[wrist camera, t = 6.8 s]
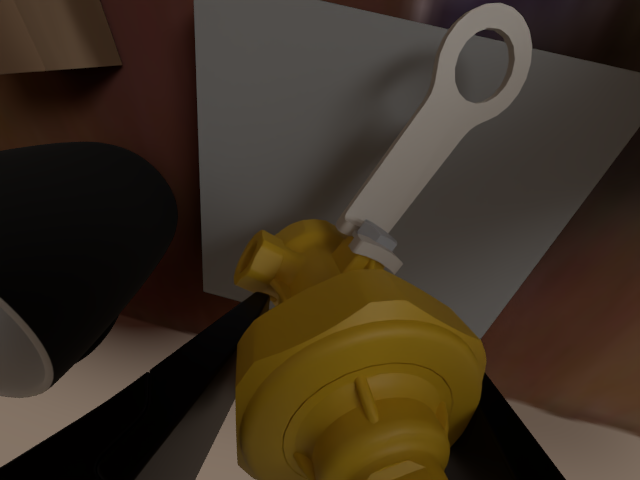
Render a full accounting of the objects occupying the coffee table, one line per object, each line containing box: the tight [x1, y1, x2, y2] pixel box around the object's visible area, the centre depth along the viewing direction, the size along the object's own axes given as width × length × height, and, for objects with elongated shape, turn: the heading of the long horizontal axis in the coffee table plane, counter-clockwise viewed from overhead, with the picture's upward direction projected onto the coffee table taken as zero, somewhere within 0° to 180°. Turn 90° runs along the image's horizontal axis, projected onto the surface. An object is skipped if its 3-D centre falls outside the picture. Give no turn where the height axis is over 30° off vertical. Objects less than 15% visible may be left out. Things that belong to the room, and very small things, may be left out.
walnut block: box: [0, 0, 122, 74], centre depth 12 cm, size 4×4×4 cm
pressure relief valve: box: [234, 3, 532, 480], centre depth 8 cm, size 6×12×10 cm, turn 147°
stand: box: [194, 0, 640, 339], centre depth 15 cm, size 16×15×2 cm
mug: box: [0, 142, 178, 398], centre depth 15 cm, size 12×9×10 cm
